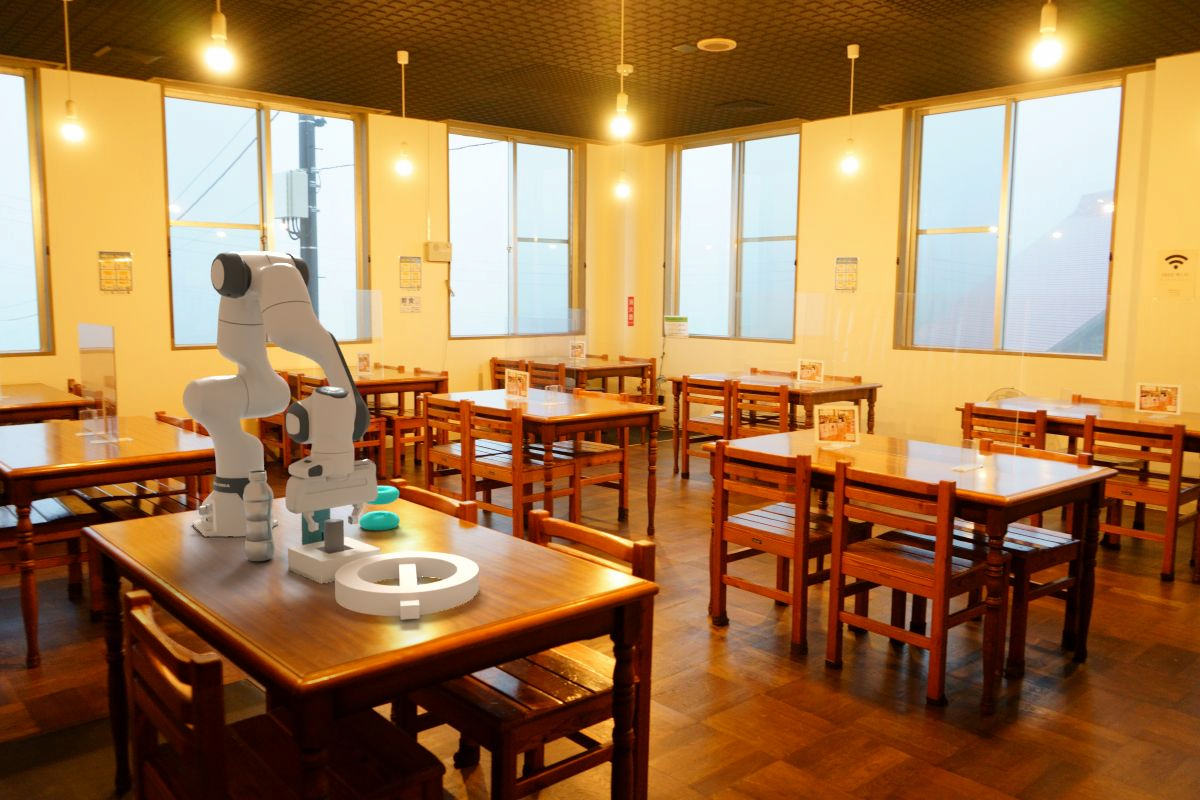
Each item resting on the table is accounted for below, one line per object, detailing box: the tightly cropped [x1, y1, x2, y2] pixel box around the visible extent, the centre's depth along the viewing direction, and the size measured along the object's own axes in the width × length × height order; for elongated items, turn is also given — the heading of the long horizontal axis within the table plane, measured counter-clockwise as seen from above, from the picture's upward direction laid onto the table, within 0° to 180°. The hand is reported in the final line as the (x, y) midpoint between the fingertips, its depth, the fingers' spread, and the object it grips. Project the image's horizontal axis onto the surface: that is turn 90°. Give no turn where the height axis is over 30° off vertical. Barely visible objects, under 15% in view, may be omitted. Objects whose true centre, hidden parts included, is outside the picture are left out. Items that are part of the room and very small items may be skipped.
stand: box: [287, 536, 382, 584], centre depth 196 cm, size 14×14×5 cm
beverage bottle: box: [300, 508, 331, 545], centre depth 206 cm, size 6×7×20 cm
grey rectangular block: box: [324, 518, 345, 554], centre depth 195 cm, size 4×4×10 cm
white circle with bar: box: [334, 551, 480, 621], centre depth 182 cm, size 28×28×5 cm
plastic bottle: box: [243, 469, 276, 562], centre depth 201 cm, size 6×7×20 cm
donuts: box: [359, 485, 401, 532], centre depth 233 cm, size 10×10×10 cm
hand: (333, 527), depth 195 cm, fingers open, 8 cm apart
